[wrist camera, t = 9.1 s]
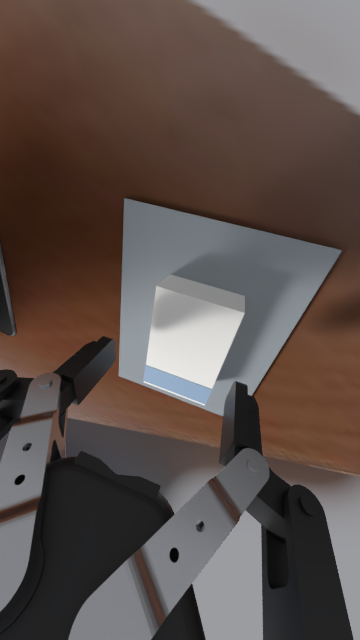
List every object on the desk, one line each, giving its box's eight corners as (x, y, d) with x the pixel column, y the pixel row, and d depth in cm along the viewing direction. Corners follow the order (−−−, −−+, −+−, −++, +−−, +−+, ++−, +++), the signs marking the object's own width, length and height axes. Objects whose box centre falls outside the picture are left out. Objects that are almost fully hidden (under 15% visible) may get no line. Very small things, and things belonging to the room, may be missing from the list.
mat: (120, 373, 23) (118, 375, 23) (127, 198, 14) (124, 198, 13) (235, 417, 21) (235, 421, 21) (339, 249, 12) (342, 250, 11)
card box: (169, 274, 15) (155, 286, 12) (245, 296, 14) (245, 313, 12) (155, 362, 20) (143, 382, 18) (209, 381, 19) (204, 406, 17)
